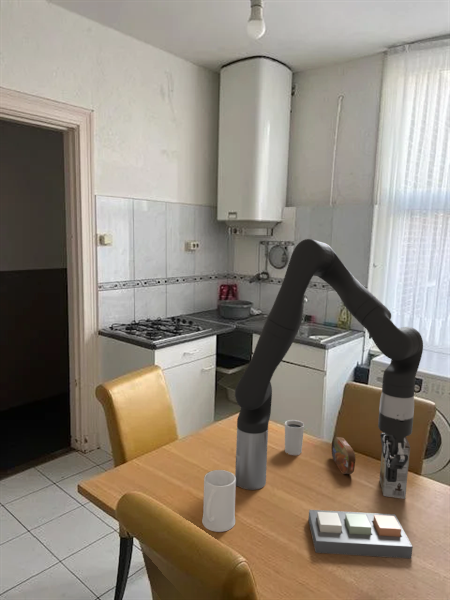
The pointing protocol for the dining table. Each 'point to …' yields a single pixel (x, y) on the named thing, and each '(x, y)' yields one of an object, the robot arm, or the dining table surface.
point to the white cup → (293, 437)
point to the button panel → (359, 539)
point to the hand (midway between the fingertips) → (390, 480)
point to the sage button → (357, 524)
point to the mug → (219, 500)
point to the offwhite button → (328, 522)
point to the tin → (343, 455)
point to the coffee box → (399, 486)
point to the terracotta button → (386, 526)
